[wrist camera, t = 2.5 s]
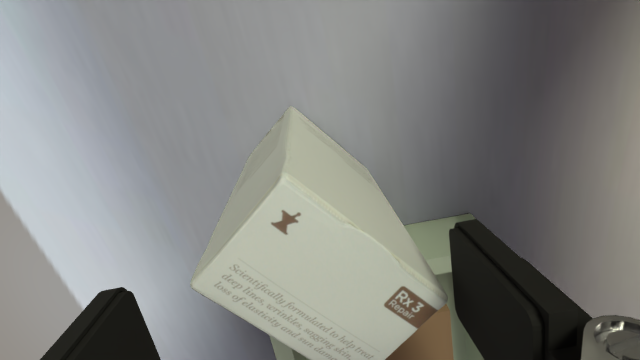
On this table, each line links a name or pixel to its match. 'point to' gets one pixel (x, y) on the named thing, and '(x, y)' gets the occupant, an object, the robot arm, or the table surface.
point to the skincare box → (317, 252)
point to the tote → (437, 255)
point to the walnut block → (428, 340)
